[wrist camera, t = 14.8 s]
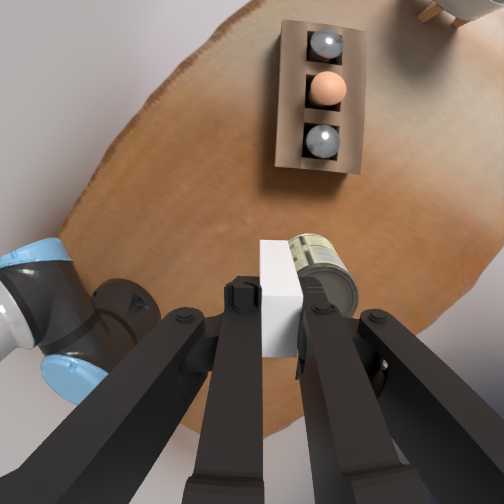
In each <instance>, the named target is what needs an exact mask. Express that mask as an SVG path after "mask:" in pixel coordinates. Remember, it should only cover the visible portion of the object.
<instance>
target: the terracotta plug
mask: <svg viewBox="0 0 504 504" xmlns="http://www.w3.org/2000/svg"><path fill="white" fill-rule="evenodd" d="M345 95H346V84H345V82H344V80H343V79H342V78H341V77H340V76H339V75H338V74H336V73H333V72H328V71H326V72H321V73H319V74H318V75H316V76H315V78H314V79H313V81H312V83H311V89H310V90H309V93H308V98H309V101H310V102H311V103H312V104H313V105H314V106H317V107H324V106H326V105H334V104H337V103H339V102H340V101H341V100H343V98H344V97H345Z"/></svg>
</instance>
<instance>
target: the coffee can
mask: <svg viewBox="0 0 504 504" xmlns="http://www.w3.org/2000/svg"><path fill="white" fill-rule="evenodd" d="M288 244H289V248H290V251H291V255H292V258H293V261H294V265H295V269H296V272H297V276H298V277H315V278H316V279H318V280H319V281H320V282H321V284H322V286H323V289H324V292H325V294H326V296H327V298H328V301H329V303H332V304H334V305H335V306H337V307H338V309H339V310H340V312H341V315H342V316H344V317H348V318H352V317H353V315H354V313H355V312H356V310H357V307H358V303H359V290H358V286H357V284H356V282H355V280H354V278H353V277H352V276H351V275H350V274H349V272H348V270H347V269H346V267H345V266H344V264H343V262H342V261H341V259H340V258H339V256H338V254H337V253H336V251H335V249H334V247H333V246H332V244H331V243H330V242H329V241H328V240H327V239H325V238H324V237H322V236H319V235H317V234H301V235H298V236H295V237H293V238H292V239H290V240H289V241H288Z"/></svg>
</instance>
